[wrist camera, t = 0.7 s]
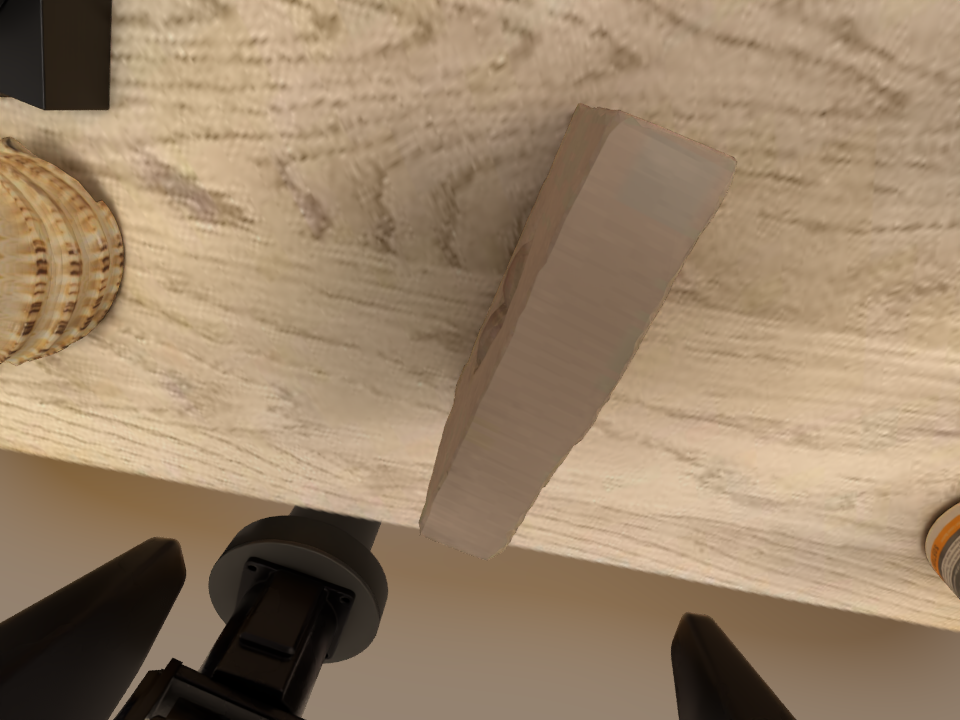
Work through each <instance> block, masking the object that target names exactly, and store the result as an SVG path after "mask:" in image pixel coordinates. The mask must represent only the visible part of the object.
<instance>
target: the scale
mask: <svg viewBox="0 0 960 720" xmlns="http://www.w3.org/2000/svg"><path fill="white" fill-rule="evenodd" d="M110 26H111V0H0V97H12V98H15V99H17V100H20V101H22V102H25V103H28V104H30V105H33V106H35V107H38V108H40V109H43V110H108V109H109V68H110Z"/></svg>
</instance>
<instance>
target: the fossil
mask: <svg viewBox="0 0 960 720" xmlns="http://www.w3.org/2000/svg"><path fill="white" fill-rule="evenodd" d="M736 167H737V161H736V160H735V158H734V157H732V156H729V155H727V154H725V153H722V152H720V151H718V150H715V149H713V148H711V147H708V146H706V145H703V144H701V143H699V142H696V141H694V140H691V139H689V138H687V137H684V136H682V135H679V134H677V133H674V132H672V131H670V130H668V129H665V128H663V127H660V126H658V125H656V124H653V123H651V122H648V121H645V120H643V119H640V118H638V117H635V116H633V115H630V114H628V113H625V112H623V111H620V110H609V109H605V108H601V107H597V108H591V107H589V106H586V105H584V104H582V103H579V104H578V105H577V107H576V110H575V112H574V114H573V116H572V119H571V121H570V124H569V126H568V129H567V131H566V133H565V135H564V138H563V140H562V142H561V145H560V147H559V150H558V152H557V154H556V156H555V159H554V161H553V164H552V166H551V169H550V172H549V174H548V177H547V178H546V180H545V181H544V183H543V185H542V187H541V189H540V192H539V194H538V197H537V200H536V202H535V204H534V206H533V208H532V210H531V213H530V215H529V217H528V219H527V222H526V224H525V227H524V229H523V231H522V233H521V236H520V238H519V241H518V243H517V246H516V248H515V250H514V253H513V255H512V257H511V259H510V262H509V264H508V267H507V269H506V271H505V274H504V276H503V279H502V281H501V283H500V285H499V288H498V290H497V293H496V295H495V297H494V299H493V302H492V305H491V306H490V308H489V310H488V313H487V316H486V318H485V321H484V323H483V325H482V327H481V329H480V331H479V333H478V336H477V339H476V341H475V344H474V347H473V349H472V352H471V355H470V358H469V361H468V363H467V364H466V365H465V366H464V368H463V370H462V373H461V375H460V377H459V380H458V382H457V385H456V390H455V398H454V404H453V407H452V409H451V412H450V414H449V416H448V419H447V421H446V424H445V427H444V431H443V434H442V439H441V442H440V446H439V449H438V453H437V457H436V461H435V465H434V469H433V473H432V477H431V480H430V483H429V487H428V492H427V497H426V503H425V505H424V508H423V510H422V514H421V517H420V520H419V527H420V535H421V536H424V537H426V538H428V539H431V540H433V541H436V542H438V543H441V544H443V545H446V546H448V547H451V548H453V549H456V550H458V551H461V552H464V553H466V554H469V555H471V556H474V557H477V558H481V559H484V560H489V559H491V558H493V557H494V556H496V555H498V554H500V553H501V552H503V551H504V550H505V548H506V547H507V545H508V544H509V543H510V542H511V539H512V537H513V535H514V534H515V533H516V531H517V529H518V527H519V526H520V524H521V523H522V522H523V520H524V518H525V516H526V513H527V512H528V510H529V509H530V508H531V507H532V505H533V504H534V502H535V500H536V499H537V497H538V495H539V493H540V491H541V489H542V488H543V487H545V486H546V485H547V483H548V482H549V480H550V478H551V477H552V476H553V474H554V473H555V471H556V470H557V468H558V467H559V466H560V465H561V464H562V463H563V461H564V460H565V458H566V457H567V455H568V454H569V452H570V451H571V449H572V448H573V446H574V445H576V444H577V443H578V442H580V441H581V440H582V439H583V437H584V436H585V435H586V433H587V432H588V431H589V429H590V428H591V426H592V425H593V424H594V422H595V421H596V419H597V416H598V414H599V412H600V410H601V408H602V407H603V405H604V404H605V403H606V402H608V400H609V398H610V396H611V393H612V391H613V390H614V388H615V387H616V385H617V384H618V382H619V381H620V379H621V377H622V376H623V374H624V372H625V370H626V369H627V367H628V365H629V363H630V362H631V360H632V358H633V357H634V355H635V353H636V351H637V350H638V348H639V345H640V344H641V342H642V340H643V338H644V336H645V334H646V332H647V331H648V329H649V327H650V325H651V323H652V321H653V320H654V318H655V317H656V315H657V313H658V312H659V310H660V308H661V307H662V305H663V302H664V300H665V299H666V298H667V295H668V293H669V291H670V289H671V287H672V284H673V282H674V280H675V279H676V277H677V275H678V274H679V272H680V270H681V269H682V267H683V264H684V262H685V260H686V258H687V256H688V255H689V253H690V252H691V250H692V249H693V247H694V245H695V243H696V241H697V239H698V238H699V236H700V234H701V233H702V232H703V230H704V229H705V228H706V226H707V225H708V224H709V222H710V221H711V219H712V218H713V217H714V215H715V213H716V212H717V210H718V208H719V207H720V205H721V203H722V201H723V199H724V197H725V195H726V193H727V191H728V189H729V187H730V185H731V184H732V181H733V178H734V175H735V171H736Z"/></svg>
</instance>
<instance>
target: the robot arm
mask: <svg viewBox="0 0 960 720" xmlns="http://www.w3.org/2000/svg"><path fill="white" fill-rule="evenodd" d="M185 578H186V568H185V563H184V559H183V554H182V550H181V546H180V543H179V542H178V541H177V540H176V539H171V538H164V537H153V538H150V539H148V540H146V541H145V542H143V543H141V544H140V545H138V546H136V547H134V548H132V549H131V550H129V551H127V552H125V553H123V554H122V555H120V556H118V557H116V558H115V559H113V560H111V561H109V562H108V563H106V564H104V565H102V566H100V567H99V568H97V569H95V570H93V571H92V572H90V573H88V574H86V575H84V576H83V577H81V578H80V579H77V580H76V581H74V582H72V583H70V584H69V585H67V586H65V587H63V588H61V589H60V590H58V591H56V592H54V593H53V594H51V595H49V596H47V597H45V598H44V599H42V600H40V601H38V602H37V603H35V604H33V605H32V606H30V607H28V608H26V609H24V610H22V611H21V612H19V613H17V614H15V615H14V616H12V617H10V618H8V619H7V620H5V621H3V622H1V623H0V720H108V719H109V717H110V716H111V714H112V712H113V711H114V709H115V708H116V706H117V705H118V703H119V701H120V700H121V698H122V697H123V695H124V694H125V692H126V690H127V689H128V687H129V686H130V684H131V682H132V681H133V679H134V678H135V676H136V674H137V673H138V671H139V669H140V667H141V666H142V664H143V662H144V660H145V658H146V656H147V654H148V653H149V651H150V649H151V647H152V645H153V643H154V641H155V639H156V637H157V635H158V633H159V631H160V629H161V627H162V625H163V624H164V621H165V620H166V618H167V616H168V614H169V612H170V610H171V608H172V606H173V604H174V602H175V600H176V598H177V596H178V595H179V593H180V591H181V588H182V587H183V585H184V582H185ZM355 598H356V594H355V592H353V591H352V590H350V589H348V588H345V587H342V586H339V585H336V584H333V583H331V582H328V581H325V580H322V579H319V578H316V577H313V576H310V575H307V574H305V573H302V572H299V571H296V570H293V569H290V568H287V567H284V566H282V565H279V564H276V563H273V562H270V561H267V560H264V559H261V558H258V557H254V556H253V557H249V558H248V560H247V561H246V563H245V564H244V567H243V571H242V576H241V580H240V585H239V589H238V594H237V598H236V603H235V607H234V612H233V614H232V616H231V618H230V619H229V621H228V623H227V624H226V626H225V628H224V629H223V631H222V633H221V634H220V636H219V637H218V639H217V641H216V642H215V644H214V646H213V647H212V649H211V651H210V652H209V654H208V656H207V657H206V659H205V661H204V662H203V664H202V666H201V667H200V669H199V670H198V671H195V670H193V669H191V668H189V667H187V666H184V665H182V663H183V662H181V661H179V660H177V659H174V658H172V659H171V661H170V662H169V664H168V665H167V666H166V668H165V669H161V670H152V671H148V673H147V674H146V676H145V677H144V678H143V680H142V681H141V683H140V684H139V685H138V687H137V688H136V690H135V691H134V693H133V694H132V695H131V697H130V698H129V700H128V701H127V702H126V704H125V705H124V707H123V708H122V709H121V711H120V712H119V713H118V714H117V716H116V717H115V718H114V719H113V720H305V719H303V718H301V717H302V714H303V712H304V710H305V707H306V704H307V702H308V699H309V697H310V694H311V692H312V689H313V687H314V684H315V681H316V679H317V677H318V674H319V671H320V669H321V666H322V664H323V661H324V660H331V659H332V657H333V655H334V652H335V649H336V647H337V644H338V642H339V639H340V637H341V634H342V631H343V629H344V626H345V624H346V621H347V619H348V616H349V613H350V611H351V608H352V606H353V603H354V600H355ZM671 660H672V667H673V675H674V683H675V691H676V698H677V707H678V715H679V720H796V719H795V718H794V716H793V715H792V714H791V713H790V712H789V710H788V709H787V708H786V707H785V706H784V704H783V703H782V702H781V701H780V700H779V698H778V697H777V696H776V695H775V694H774V692H773V691H772V690H771V689H770V687H769V686H768V685H767V684H766V683H765V682H764V680H763V679H762V678H761V677H760V675H759V674H758V673H757V672H756V671H755V669H754V668H753V667H752V666H751V664H750V663H749V662H748V661H747V660H746V658H745V657H744V656H743V655H742V654H741V652H740V651H739V650H738V649H737V648H736V646H735V645H734V644H733V643H732V642H731V640H730V639H729V638H728V637H727V636H726V634H725V633H724V632H723V631H722V630H721V628H720V627H719V626H718V625H717V623H715V621H714V620H713V619H712V618H711V617H709V616H708V615H705V614H698V613H691V612H686V613H685V614H683V616H682V618H681V620H680V623H679V625H678V628H677V631H676V633H675V636H674V639H673V641H672V646H671Z"/></svg>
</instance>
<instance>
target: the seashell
mask: <svg viewBox="0 0 960 720" xmlns="http://www.w3.org/2000/svg"><path fill="white" fill-rule="evenodd" d="M123 260H124V253H123V243H122V237H121V233H120V231H119V228H118V225H117V223H116V221H115V219H114V217H113V215H112V213H111V211H110V209H109V208H108V206H107V205H106V204H105V203H104V202H103V200H101V201H98V202H96V201H94V199H93V198H92V197H91V196H90V194H89V193H88V192H87V191H86V190H85V189H84V187H83V186H82V185H81V184H80V182H79V181H78V180H76V179H74V178H72V177H71V176H69V175H68V174H66V173H65V172H64V171H62V170H61V169H59V168H58V167H56V166H55V165H53V164H52V163H49V162H47V161H45V160H43V159H40V158H38V157H37V156H35V155H34V154H33V153H32V152H30V151H29V150H28V149H27V148H25V147H24V146H23V145H22V144H20V143H19V142H18V141H16V140H15V139H14V138H12V137H6V138H3V139H2V140H0V364H1V363H2V362H9V363H11V364H13V365H15V366H18V365H20V364H22V363H24V362H25V361H29V362H30V361H32V360H35V359H39V358H42V357H45V356H49V355H52V354H54V353H57V352H59V351H61V350H63V349H65V348H67V347H68V346H69V345H70V344H72V343H74V342H76V341H78V340H80V339H81V338H83V337H84V336H86V335H87V334H88V333H89V332H90V331H92V330H93V329H94V328H95V327H96V325H97V324H98V323H99V322H100V321H101V320H102V319H103V317H104V316H105V314H106V313H107V311H108V310H109V308H110V306H111V304H112V303H113V301H114V299H115V296H116V294H117V291H118V288H119V284H120V281H121V277H122V273H123Z"/></svg>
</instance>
